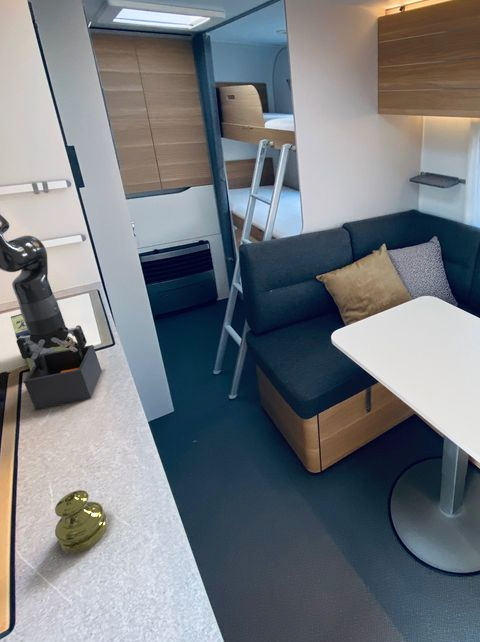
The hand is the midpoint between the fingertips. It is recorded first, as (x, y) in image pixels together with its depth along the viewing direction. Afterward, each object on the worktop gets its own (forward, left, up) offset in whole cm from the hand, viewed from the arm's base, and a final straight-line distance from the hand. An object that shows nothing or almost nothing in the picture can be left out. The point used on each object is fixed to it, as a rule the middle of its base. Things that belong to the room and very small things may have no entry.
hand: (61, 364), depth 112 cm
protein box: (-10, +18, -9) cm, 23 cm away
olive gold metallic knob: (+15, -49, -9) cm, 52 cm away
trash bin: (0, 0, -9) cm, 9 cm away
